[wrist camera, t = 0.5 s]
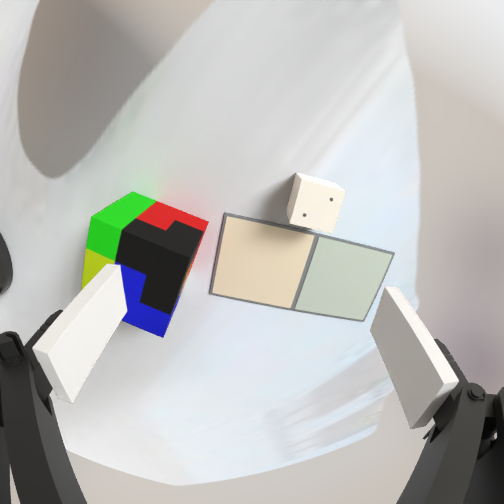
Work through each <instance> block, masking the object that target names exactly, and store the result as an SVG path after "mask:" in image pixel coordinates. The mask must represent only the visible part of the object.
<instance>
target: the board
mask: <svg viewBox="0 0 504 504" xmlns="http://www.w3.org/2000/svg"><path fill="white" fill-rule="evenodd" d="M394 254H395V253H394V252H390V251H386V250H382V249H379V248H375V247H371V246H367V245H363V244H359V243H355V242H351V241H347V240H343V239H339V238H335V237H331V236H327V235H322V234H318V233H314V232H310V231H306V230H301V229H297V228H293V227H288V226H284V225H280V224H275V223H271V222H266V221H262V220H257V219H253V218H248V217H243V216H239V215H234V214H229V213H225V215H224V220H223V225H222V230H221V235H220V240H219V246H218V251H217V256H216V261H215V267H214V272H213V278H212V283H211V289H210V294H213V295H217V296H222V297H227V298H232V299H237V300H242V301H247V302H252V303H257V304H262V305H267V306H273V307H278V308H283V309H289V310H295V311H300V312H306V313H312V314H318V315H324V316H330V317H337V318H343V319H350V320H356V321H363V322H364V320H365V318H366V316H367V314H368V312H369V310H370V308H371V306H372V304H373V302H374V300H375V298H376V295H377V293H378V291H379V289H380V287H381V284H382V282H383V280H384V278H385V275H386V273H387V271H388V268H389V266H390V264H391V261H392V259H393V256H394Z"/></svg>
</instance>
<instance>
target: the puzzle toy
mask: <svg viewBox="0 0 504 504" xmlns="http://www.w3.org/2000/svg"><path fill="white" fill-rule="evenodd" d="M208 223H209V222H208V221H205V220H203V219H200V218H198V217H196V216H193V215H191V214H188V213H186V212H183V211H181V210H178V209H176V208H173V207H170V206H168V205H165V204H163V203H160V202H158V201H155V200H153V199H150V198H148V197H145V196H143V195H140V194H138V193H135V192H131V193H129V194H128V195H126V196H124V197H123V198H121V199H119V200H118V201H116V202H114V203H113V204H111V205H109V206H108V207H106V208H104V209H103V210H101V211H100V212H98V213H96V214H95V215H93V216H92V217H91V221H90V227H89V233H88V239H87V245H86V252H85V260H84V268H83V277H82V287H81V291H82V290H83V288H84V287H85V286H86V285H87V284H88V283H89V282H90V281H91V280H92V279H93V278H94V277H95V276H96V275H97V274H98V273H99V272H100V271H101V270H102V268H103V267H104V266H105V265H106V264H115V265H120V267H121V275H122V282H123V288H124V294H125V300H126V306H127V312H126V314H125V315H124V317H123V318H122V321H124V322H127V323H129V324H131V325H133V326H136V327H138V328H140V329H143V330H145V331H148V332H150V333H152V334H155V335H157V336H160V337H162V338H163V337H164V335H165V332H166V330H167V328H168V325H169V323H170V320H171V318H172V315H173V313H174V311H175V308H176V306H177V303H178V301H179V299H180V296H181V294H182V291H183V289H184V286H185V284H186V281H187V278H188V275H189V273H190V270H191V267H192V264H193V262H194V259H195V256H196V254H197V251H198V248H199V246H200V243H201V241H202V238H203V235H204V233H205V230H206V228H207V225H208Z"/></svg>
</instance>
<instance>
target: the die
mask: <svg viewBox="0 0 504 504" xmlns="http://www.w3.org/2000/svg"><path fill="white" fill-rule="evenodd" d="M345 193H346V191H345V190H343V189H342V188H341V187H340V186H338V185H337V184H336V183H333V182H330V181H326V180H322V179H319V178H315V177H311V176H308V175H304V174H300V173H296V175H295V179H294V182H293V186H292V190H291V194H290V198H289V201H288V205H287V209H286V213H287V216H288V219H289V223H290V224H294V225H298V226H302V227H307V228H311V229H315V230H319V231H323V232H327V233H331V234H333V231H334V228H335V225H336V222H337V219H338V215H339V212H340V209H341V206H342V203H343V199H344V196H345Z"/></svg>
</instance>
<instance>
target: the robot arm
mask: <svg viewBox="0 0 504 504" xmlns="http://www.w3.org/2000/svg"><path fill="white" fill-rule="evenodd" d="M12 275H13V272H12V263H11V258H10V255H9V251H8V248H7V246H6V243H5V241H4V239H3V237H2V235H1V234H0V295H1V294H2V293H3V292H4V291H5V290H7V289H8V288H9V286H10V285H11V282H12ZM126 312H127V306H126V300H125V294H124V288H123V282H122V275H121V267H120V265H115V264H106V265H105V266H104V267H103V268H102V270H101V271H100V272H99V273H98V274H97V275H96V276H95V277H94V278H93V279H92V280H91V281H90V282H89V283H88V284H87V285H86V286H85V287H84V288H83V290H82V291H81V292H80V293H79V294H78V295H77V296H76V297H75V298H74V299H73V300H72V302H71V303H70V304H69V305H68V306H67V307H66V308H65V309H64V311H63V310H59V311H57V312H55V313H54V314H52V315H51V316H50V317H49V318H48V319H47V320H46V321H45V324H43V325H42V326H41V327H40V329H39V330H37V332H36V333H35V334H34V335H33V336H32V338H31V339H30V340H29V341H28V342H27V344H26V345H25V346H23V344H22V341H21V339H20V337H19V335H18V334H17V333H16V332H12V331H8V332H4V333H2V334H0V504H11V495H10V466H11V470H12V474H13V479H14V482H15V486H16V490H17V494H18V497H19V500H20V504H87V502H86V500H85V498H84V495H83V493H82V491H81V489H80V486H79V484H78V482H77V479H76V477H75V474H74V472H73V469H72V466H71V464H70V461H69V458H68V455H67V453H66V449H65V446H64V443H63V440H62V437H61V434H60V430H59V427H58V423H57V419H56V416H55V412H54V408H53V404H52V400H51V398H50V396H49V394H50V392H51V391H52V389H53V391H54V392H55V394H56V396H57V398H58V399H61V400H64V401H66V402H69V403H72V404H73V402H74V400H75V398H76V396H77V395H78V393H79V391H80V389H81V387H82V386H83V384H84V382H85V380H86V378H87V377H88V375H89V373H90V371H91V370H92V368H93V366H94V364H95V363H96V361H97V359H98V358H99V356H100V354H101V353H102V351H103V349H104V348H105V346H106V344H107V343H108V341H109V339H110V338H111V336H112V334H113V333H114V331H115V330H116V328H117V326H118V325H119V323H120V322H121V320H122V318H123V317H124V315H125V314H126ZM370 331H371V334H372V336H373V338H374V340H375V342H376V345H377V347H378V349H379V351H380V354H381V356H382V358H383V361H384V363H385V365H386V368H387V370H388V372H389V375H390V377H391V380H392V382H393V385H394V387H395V389H396V392H397V394H398V397H399V400H400V402H401V405H402V407H403V410H404V412H405V415H406V418H407V420H408V423H409V426H410V429H414V428H419V427H424V426H426V425H427V424H428V422H429V421H430V420H431V419H432V418H433V419H434V421H435V424H434V426H433V427H432V428H431V429H430V430H429V431H428V433H427V434H426V435H425V436H424V438H423V439H426V438H427V437H428V439H427V442H426V444H425V446H424V449H423V451H422V453H421V455H420V458H419V460H418V462H417V465H416V466H415V469H414V471H413V473H412V475H411V477H410V479H409V481H408V483H407V485H406V487H405V489H404V490H403V493H402V494H401V496H400V498H399V500H398V501H397V503H396V504H462V503H463V504H504V387H502V388H501V390H500V391H499V392H498V394H497V395H494V394H486V392H485V390H484V389H483V388H482V387H481V386H479V385H478V384H475V383H468V381H467V380H466V378H465V376H464V375H463V373H462V371H461V370H460V368H459V367H458V365H457V363H456V362H454V358H453V357H452V355H450V352H449V351H448V349H447V348H446V346H445V345H444V344H443V343H441V342H440V341H439V340H438V339H433V338H432V336H431V335H430V333H429V332H428V330H427V329H426V327H425V326H424V324H423V323H422V321H421V320H420V319H419V317H418V315H417V314H416V312H415V311H414V310H413V308H412V307H411V305H410V304H409V302H408V301H407V300H406V298H405V297H404V295H403V294H402V293H401V291H400V290H399V289H398V287H384V291H383V294H382V297H381V300H380V303H379V306H378V309H377V312H376V315H375V318H374V320H373V323H372V326H371V329H370ZM496 432H497V438H496V439H494V434H495V433H496Z"/></svg>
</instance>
